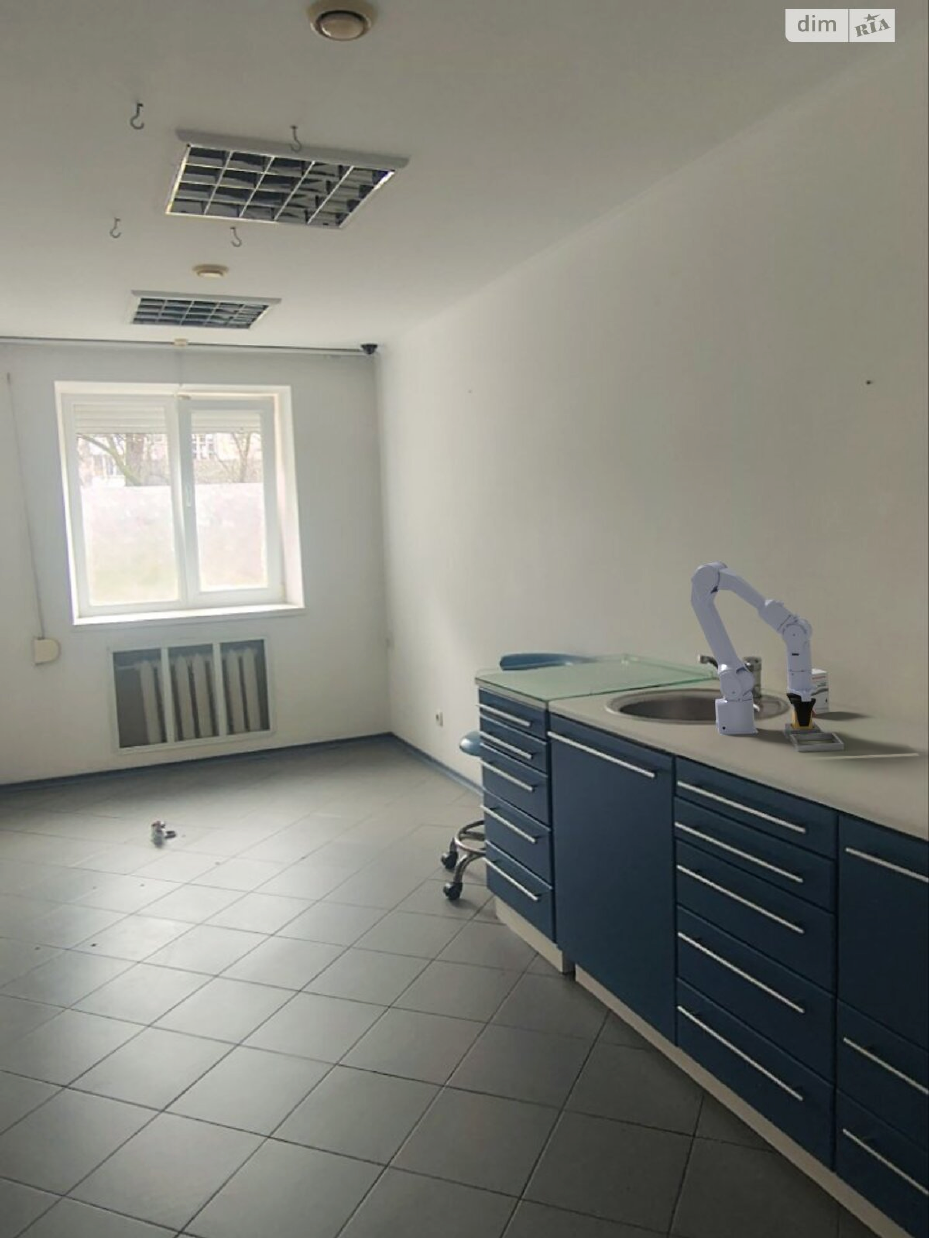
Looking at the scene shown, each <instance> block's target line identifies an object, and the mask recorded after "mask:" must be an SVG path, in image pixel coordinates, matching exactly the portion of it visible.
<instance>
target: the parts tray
mask: <svg viewBox="0 0 929 1238" xmlns="http://www.w3.org/2000/svg"><path fill="white" fill-rule="evenodd" d="M816 740H817V741H821V740H832V741H833V742H834V743H833V742H832V743H831V742H830V743H816V744H815V743H814V744H813V743H811V744H800V743H799V742H800V741H816ZM789 741H790V743H791V744H792V745H793V747H794V748H795V750H796V751H797V752H798V753H803V752H827V751H845V743H844V742H843V741H842V740H841V739H840V738H839V737H838V736H837V734H836V733H835V732H822V733H809V734H790V739H789ZM798 741H799V742H798Z"/></svg>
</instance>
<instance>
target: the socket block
mask: <svg viewBox="0 0 929 1238" xmlns="http://www.w3.org/2000/svg"><path fill="white" fill-rule="evenodd" d="M812 725H813V728H811V729H793V728H792V722H787V723H784V729H783V728H782V729H780V732H781V733H782V735H783V736H784V738H785V739H786V740H790V734H809V733H823V732H822V730H821V728H820V727H819V725H818V724H817V723H816V722H815V721H812Z"/></svg>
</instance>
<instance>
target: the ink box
mask: <svg viewBox="0 0 929 1238" xmlns="http://www.w3.org/2000/svg"><path fill="white" fill-rule="evenodd" d="M812 681H813V686H814V685H816V686H818V690H813V692H812V693H811V698H815V699H816V703H815V704H814V706H813V709H812V716H813V715H814V716H815V715H819V714H820V715H821V714H826V713H827V714H828V713H830V695H829V694H830V693H829V692H830V691H829V690H830V689H829V687H830V685H829V672H828V671H825V670H822V669H819V668H812Z"/></svg>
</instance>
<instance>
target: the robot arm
mask: <svg viewBox="0 0 929 1238" xmlns="http://www.w3.org/2000/svg"><path fill="white" fill-rule="evenodd" d="M690 582H691V593H690V603H691V606H692V609H693V612H694V614H695V616H696V617H697V620H698V622H699V625H700V628H701V629H702V632H703V634H704V637H705V639H706V641H707V643H708V646H709V648H710V650H711V653H712V655H713V657H714V659H715V661H716V664H717V678H718V679H719V691H720V693H721V694H722V696H723V698H716V699H715V701H714V702H715V704H714V705H715V719H716V720H715V727H716V729H717V732H718V734H719V735H721V736H722V735H725V736H726V735H740V734H741V735H742V734H743V735H744V734H746V735H747V734H758V733H759V731H758V730H757V727H756V725H755V710H754V709H755V708H754V695H753V693H752V690H753V689H754V687H755V684H756V680H755V679H756V678H755V676H754V674H753V672H751V671H750V670H749V669H748V668H747V666H746V664H745V663H744V661H742V660H741V659H740V658H739V657H738V654H737V653H736V650H735V648H734V646H733V643H732V641H731V639H730V637H729V636H730V635H728V634H729V633H728V632H727V630H726V628H725V625H724V622H723V621H722V619H721V617H720V614H719V612H718V609H717V607H716V605H715V603H714V600H715V599H716V596H717V594H718V592H719V591H731V592H733V593H734V594H735V595H737V596H738V597H739V598H741V599H742V600H744V601H745V602H746V603H748V604H749V605H750V606H752V607H753V608H755V609H756V610H757V613H758V618H759V619H760V620H762V621H763V622H765V624H767V625H768V626H769V627H770V628H771V629H773V630H774V631H775V632H776V633H778V634H780V635H781V639H782V641H783V642H784V643H785V659H786V679H787V680H786V681H787V687H786V691H787V692H788V693H787V692H786V693H785V696H786V697H787V699H788V700H789V703H790V705H791V704H793V705H794V707H795V710H796V714H797V719H798V723H799V726H800V727H804V726H809V723H810V717H811V712H812V709H813V706H814V704H815V703H816V699H815V698H811V693H812V692H813V690H818V686H816V685H814V686H813V681H812V669H813V665H812V650H811V640H809V639H811V637H812V635H813V628H812V627H813V626H812V625H811V623H809V621H808V620H807V619H805V618H800V616H799V615H798V614H794V613H793V612H792V611H790V610H789V609H788V608H787V607H785V606H784V602H783V601H782V600H778V601H777V600H776V599H767V598H766V597H765V596H764V595H762V594H761V593H760V592H759V591H758V590H756V588H754V587H753V586H752V585H751V584H750V583H748V582H747V580H745V579H744V578H743V577H742V576H740V575H739V574H738V573H737V572H736V570H734V569H733V568H732V567H729V566H728V565H727V564H726V563H724V562H722V561H718V560H715V561H712V562H710V563H706V564H701V565H699V566H698V567H697V568H696V569H695V570H694V571H693V574H692V576H691V577H690ZM759 734H760V733H759Z"/></svg>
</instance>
